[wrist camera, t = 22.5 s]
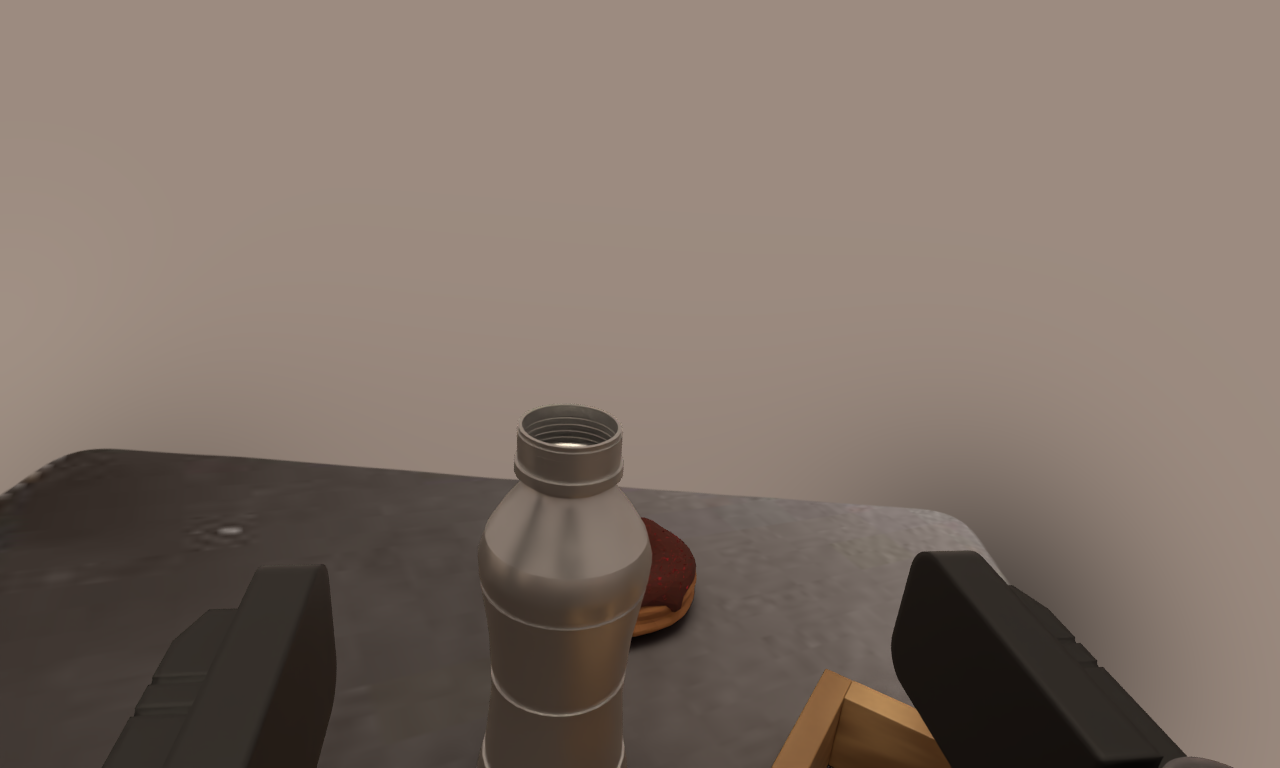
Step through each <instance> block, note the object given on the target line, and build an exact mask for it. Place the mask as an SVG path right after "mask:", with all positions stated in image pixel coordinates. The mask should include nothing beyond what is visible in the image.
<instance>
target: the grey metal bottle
mask: <svg viewBox="0 0 1280 768" xmlns="http://www.w3.org/2000/svg"><path fill="white" fill-rule="evenodd" d="M622 435H623V432H622V426H621V423H620V422H619V420H618V419H617V418H616V417H614V416H613V415H612V414H610V413H608V412H606V411H604V410H601V409H598V408H595V407H591V406H586V405H579V404H551V405H545V406H541V407H537V408H534V409H532V410H529V411H528V412H526V413H525V414H523V415H522V416H521V417H520V419H519V421H518V426H517V451H516V453H515V455H514V472H515V474H516V476H517V478H518V479H519V480H520V481H519V482H518V483H517V484H516V485H515V486H514V487H513V489H512V490H511V491H510V492H509V493H508V494H507V495H506V496H505V497H504V499H503V500H502V501H501V503H500V504H499V505H498V507H497V508H496V509H495V511H494V512H493V513H492V515H491V516H490V517H489V519H488V521H487V524H486V526H485V529H484V532H483V535H482V537H481V540H480V543H479V546H478V565H479V577H480V580H481V589H482V595H483V601H484V606H485V612H486V618H487V624H488V630H489V641H490V662H491V682H492V686H491V695H490V702H489V710H488V718H487V726H486V733H485V736H484V739H483V743H482V746H481V749H480V753H479V757H478V763H477V768H627V758H626V752H625V747H624V741H623V685H624V679H625V670H626V667H627V661H628V655H629V649H630V644H631V638H632V635H633V631H634V628H635V624H636V621H637V618H638V614H639V611H640V607H641V604H642V600H643V597H644V594H645V590H646V586H647V583H648V580H649V574H650V569H651V565H652V550H651V546H650V542H649V537H648V533H647V530H646V526H645V524H644V522H643V521H642V519H641V518H640V516H639V515H638V513H637V511H636V510H635V508H634V507H633V505H632V504H631V502H630V501H629V499H628V498H627V497H626V495H625V494H624V493H623V492H622V491H621V489H620V488H619V487H618V486H617V483H618V482H620V480H621V478H622V476H623V465H624V460H623V457H622V455H621V451H622Z"/></svg>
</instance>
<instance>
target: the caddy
mask: <svg viewBox="0 0 1280 768" xmlns="http://www.w3.org/2000/svg"><path fill="white" fill-rule="evenodd" d="M828 763H829V765H830V766H832V767H834V768H951V766H950V764H949V763H948V761H947V759H946V758H945V756H944V754H943V753H942V751H941V749H940V748H939V746H938V744H937V743H936V741H935V739H934V738H933V736H932V735H931V733H930V731H929V730H928V728H927V726H926V725H925V723H924V721H923V720H922V718H921V716H920V715H919V713H918V711H917V710H916V709H915V708H913V707H911V706H909V705H906V704H904V703H902V702H900V701H898V700H895V699H893V698H891V697H889V696H886V695H884V694H882V693H880V692H878V691H875V690H873V689H871V688H869V687H866V686H864V685H862V684H860V683H858V682H855V681H852V680H850V679H848V678H846V677H844V676H841V675H839V674H837V673H835V672H832V671H830V670H828V669H825V671H824V673H823V674H822V676H821V678H820V680H819V682H818V684H817V685H816V687H815V689H814V691H813V693H812V694H811V696H810V698H809V700H808V702H807V704H806V705H805V707H804V709H803V711H802V713H801V714H800V716H799V718H798V720H797V722H796V724H795V725H794V727H793V729H792V731H791V733H790V734H789V736H788V738H787V740H786V742H785V744H784V745H783V747H782V749H781V751H780V753H779V755H778V756H777V758H776V760H775V762H774V764H773V765H772V767H771V768H827V766H828Z"/></svg>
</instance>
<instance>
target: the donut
mask: <svg viewBox="0 0 1280 768" xmlns="http://www.w3.org/2000/svg"><path fill="white" fill-rule="evenodd" d="M641 519H642V521H643V522H644V524H645V526H646V530H647V533H648V537H649V542H650V546H651V550H652V565H651V569H650V574H649V580H648V583H647V586H646V590H645V594H644V597H643V600H642V604H641V607H640V611H639V614H638V618H637V621H636V624H635V628H634V631H633V635H632V637H636V636H640V635H644V634H648V633H652V632H655V631H657V630H660V629H663V628H665V627H668V626H671V625H672V624H674V623H675V622H677V621H678V620H679V619H680V618H682V617H683V616H684V615H685V614H686V612H687V611H688V609H689V607H690V605H691V603H692V600H693V597H694V587H695V583H696V563H695V559H694V557H693V555H692V553H691V551H690V549H689V548H688V547H687V545H686V544H684V543H683V541H682V540H681V539H679V538H678V537H677V536H676V535H674V534H672V533H671V532H669V531H668V530H666V529H664V528H662V527H661V526H659V525H658V524H657V523H655V522H654V521H651V520H649V519H647V518H641Z"/></svg>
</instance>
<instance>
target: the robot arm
mask: <svg viewBox="0 0 1280 768" xmlns="http://www.w3.org/2000/svg"><path fill="white" fill-rule="evenodd" d="M891 652H892V660H893V665H894V669H895V672H896V675H897V677H898V679H899V681H900V683H901V685H902V687H903V688H904V690H905V692H906V693H907V695H908V696H909V698H910V700H911V701H912V703H913V705H914V706H915V708H916V710H917V711H918V713H919V715H920V716H921V718H922V720H923V721H924V723H925V725H926V726H927V728H928V730H929V731H930V733H931V735H932V736H933V738H934V739H935V741H936V743H937V744H938V746H939V748H940V749H941V751H942V753H943V754H944V756H945V758H946V759H947V761H948V763H949V764H950V766H951V768H1233V767H1231V766H1228V765H1226V764H1223V763H1219V762H1217V761H1213V760H1209V759H1205V758H1198V757H1187V756H1186V755H1185V754H1184V753H1183V752H1182V750H1181V749H1180V748H1179V747H1178V746H1177V745H1176V744H1175V743H1174V742H1173V741H1172V740H1171V739H1170V738H1169V737H1168V736H1167V734H1165V732H1164V731H1163V730H1162V729H1161V728H1160V727H1159V726H1158V725H1157V724H1156V723H1155V722H1154V721H1153V720H1152V719H1151V717H1150V716H1149V715H1148V714H1147V713H1146V712H1145V711H1144V710H1143V709H1142V708H1141V707H1140V706H1139V705H1138V704H1137V703H1136V702H1135V701H1134V699H1133V698H1132V697H1131V696H1130V695H1129V694H1128V693H1127V692H1126V691H1125V690H1124V689H1123V688H1122V687H1121V686H1120V685H1119V683H1118V682H1117V681H1116V680H1115V679H1114V678H1113V677H1112V676H1111V675H1110V674H1109V673H1108V672H1107V671H1106V670H1105V669H1104V668H1103V667H1098V665H1097V660H1096V659H1095V658H1094V657H1093V656H1092V655H1091V654H1090V653H1089V652H1088V651H1087V649H1086V648H1085V647H1084V646H1083V645H1082V644H1081V643H1076V642H1075V637H1074V636H1073V635H1072V634H1071V633H1070V631H1069V630H1068V629H1067V628H1066V627H1065V626H1064V625H1063V624H1062V623H1061V622H1060V621H1059V620H1058V619H1057V618H1056V617H1055V616H1054V614H1053V613H1052V612H1051V611H1050V610H1049V609H1048V608H1046V607H1044V606H1043V605H1041V604H1040V603H1038V602H1037V601H1035V600H1034V599H1032V598H1031V597H1029V596H1028V595H1026V594H1025V593H1023V592H1022V591H1020V590H1019V589H1017V588H1016V587H1014V586H1012V585H1007V584H1006V582H1005V581H1004V580H1003V579H1002V578H1001V577H1000V576H999V575H998V574H997V573H996V571H995V570H994V569H993V568H992V567H991V566H990V565H989V564H988V563H987V562H986V560H985V559H984V558H983V557H982V556H981V555H980V554H978V553H976V552H974V551H930V552H921V553H919V554H917V555H916V557H915V558H914V560H913V562H912V565H911V568H910V572H909V575H908V579H907V583H906V586H905V590H904V594H903V597H902V601H901V605H900V609H899V612H898V616H897V620H896V623H895V627H894V631H893V635H892V642H891ZM335 686H336V650H335V639H334V628H333V618H332V607H331V596H330V586H329V576H328V571H327V568H326V566H325V565H324V564H311V565H269V566H260V567H259V568H258V569H257V570H256V572H255V574H254V576H253V578H252V580H251V582H250V584H249V586H248V589H247V591H246V593H245V595H244V597H243V599H242V601H241V603H240V605H239V607H238V609H212V610H208V611H207V612H206V613H204V614H203V615H202V616H201V617H200V618H199V619H198V620H196V621H195V622H194V623H193V624H192V625H191V626H189V627H188V628H187V629H186V630H185V631H184V632H183V633H181V634H180V635H179V636H178V637H177V638H176V639H175V640H173V642H172V643H171V645H170V647H169V649H168V650H167V652H166V654H165V656H164V658H163V659H162V661H161V663H160V665H159V667H158V668H157V670H156V672H155V674H154V675H153V677H152V684H151V685H148V686H147V688H146V690H145V692H144V693H143V695H142V697H141V699H140V700H139V702H138V704H137V706H136V708H135V714H134V717H130V718H129V720H128V722H127V724H126V725H125V727H124V729H123V731H122V733H121V734H120V736H119V738H118V740H117V741H116V743H115V745H114V747H113V749H112V750H111V752H110V754H109V756H108V758H107V759H106V761H105V763H104V765H103V766H102V768H317V764H318V760H319V756H320V753H321V749H322V745H323V741H324V737H325V734H326V730H327V726H328V722H329V719H330V715H331V711H332V706H333V701H334V695H335Z"/></svg>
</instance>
